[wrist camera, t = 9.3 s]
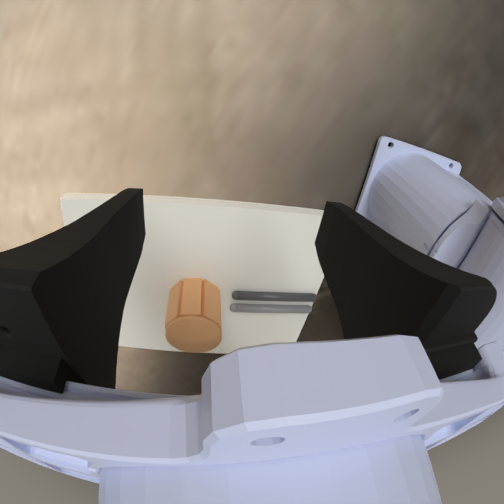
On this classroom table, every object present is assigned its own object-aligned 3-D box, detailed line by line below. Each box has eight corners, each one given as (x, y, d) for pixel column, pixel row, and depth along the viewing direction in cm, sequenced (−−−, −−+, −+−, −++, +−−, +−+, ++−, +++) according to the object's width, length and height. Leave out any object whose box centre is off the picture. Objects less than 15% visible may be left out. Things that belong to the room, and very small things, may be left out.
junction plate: (341, 212, 23) (360, 241, 20) (289, 346, 33) (295, 375, 30) (64, 192, 19) (41, 220, 16) (101, 336, 30) (94, 365, 26)
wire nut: (219, 277, 24) (220, 319, 21) (221, 312, 27) (222, 352, 23) (167, 278, 24) (160, 320, 20) (174, 313, 26) (170, 353, 23)
